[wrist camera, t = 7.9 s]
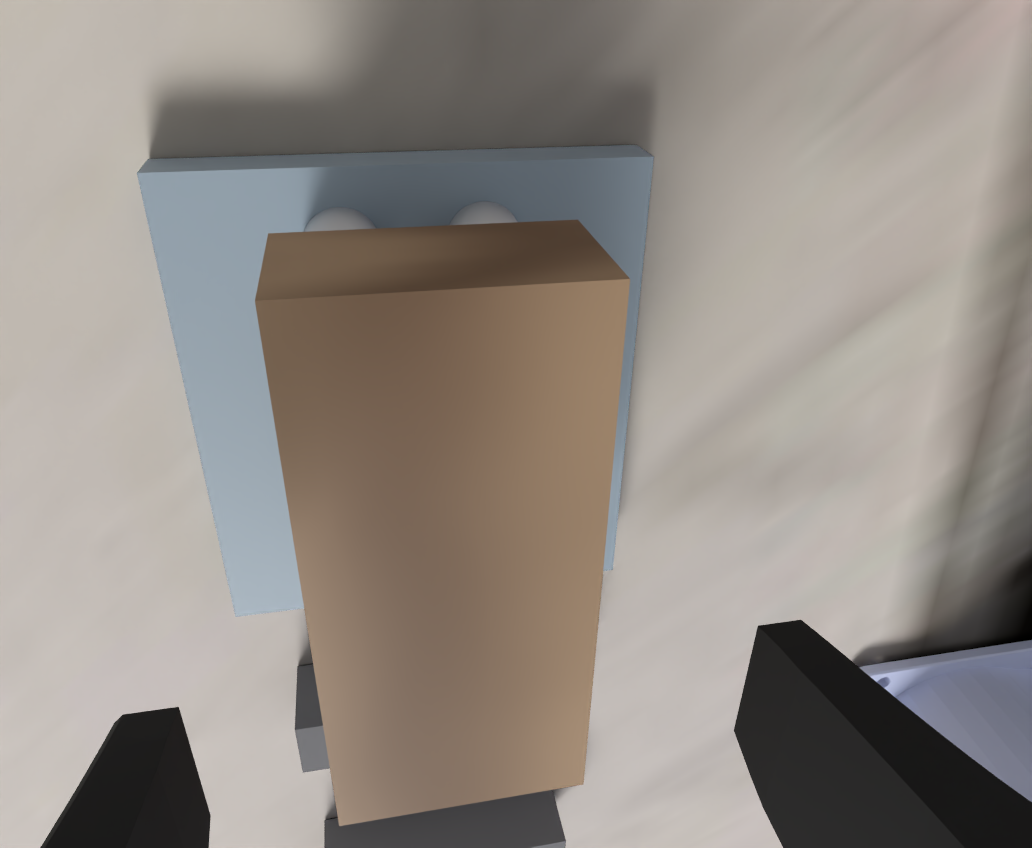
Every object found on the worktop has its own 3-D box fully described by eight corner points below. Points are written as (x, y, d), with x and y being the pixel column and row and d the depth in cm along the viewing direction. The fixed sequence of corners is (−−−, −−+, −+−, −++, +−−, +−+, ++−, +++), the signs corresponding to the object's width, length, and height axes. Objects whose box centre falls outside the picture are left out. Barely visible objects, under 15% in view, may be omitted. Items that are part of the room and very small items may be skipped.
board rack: (558, 630, 22) (577, 687, 21) (548, 812, 26) (563, 871, 25) (297, 666, 21) (294, 730, 19) (330, 851, 25) (330, 916, 24)
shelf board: (577, 219, 12) (630, 279, 10) (552, 681, 17) (583, 784, 15) (268, 233, 11) (254, 300, 9) (337, 712, 17) (339, 825, 14)
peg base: (636, 144, 16) (719, 201, 12) (600, 544, 21) (653, 660, 18) (147, 159, 14) (92, 228, 11) (239, 587, 19) (221, 723, 16)
